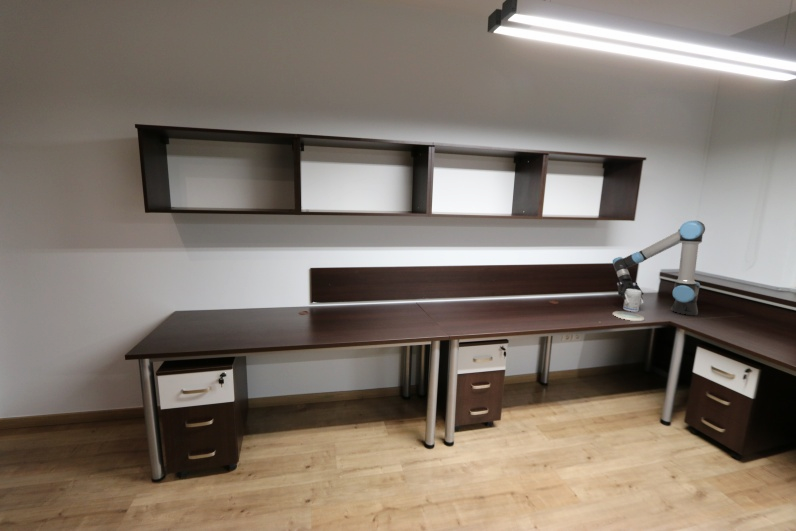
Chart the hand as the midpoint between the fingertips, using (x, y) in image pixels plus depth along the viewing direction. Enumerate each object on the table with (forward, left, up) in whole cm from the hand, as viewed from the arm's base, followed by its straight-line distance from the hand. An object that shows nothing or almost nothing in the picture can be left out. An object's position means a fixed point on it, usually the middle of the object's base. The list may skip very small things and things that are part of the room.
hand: (634, 303), depth 259 cm
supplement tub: (-1, -3, -6) cm, 7 cm away
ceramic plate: (+16, +8, -6) cm, 19 cm away
